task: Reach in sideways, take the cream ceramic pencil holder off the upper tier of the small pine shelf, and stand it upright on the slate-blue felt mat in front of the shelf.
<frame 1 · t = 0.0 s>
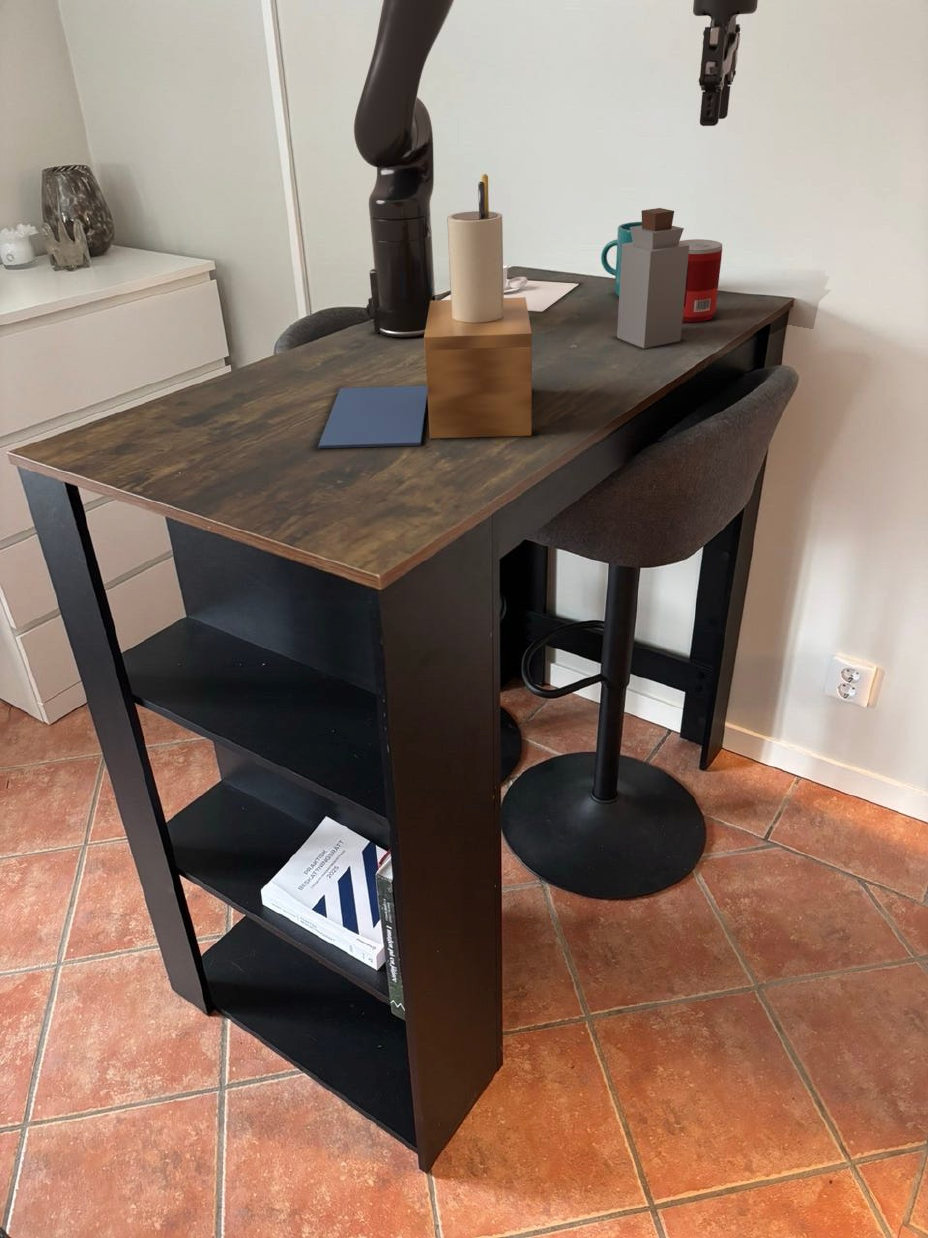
hand: (713, 121, 117), 29 cm above the table, tool pointing down, fingers open, 8 cm apart
teacup and saucer: (508, 294, 165), on the table
shelf: (480, 412, 115), on the table
canned food: (690, 317, 148), on the table
mat: (377, 416, 115), on the table
holder: (477, 315, 108), point 12 cm above the table, touching shelf
cup: (632, 295, 161), on the table
perfume bottle: (648, 340, 138), on the table
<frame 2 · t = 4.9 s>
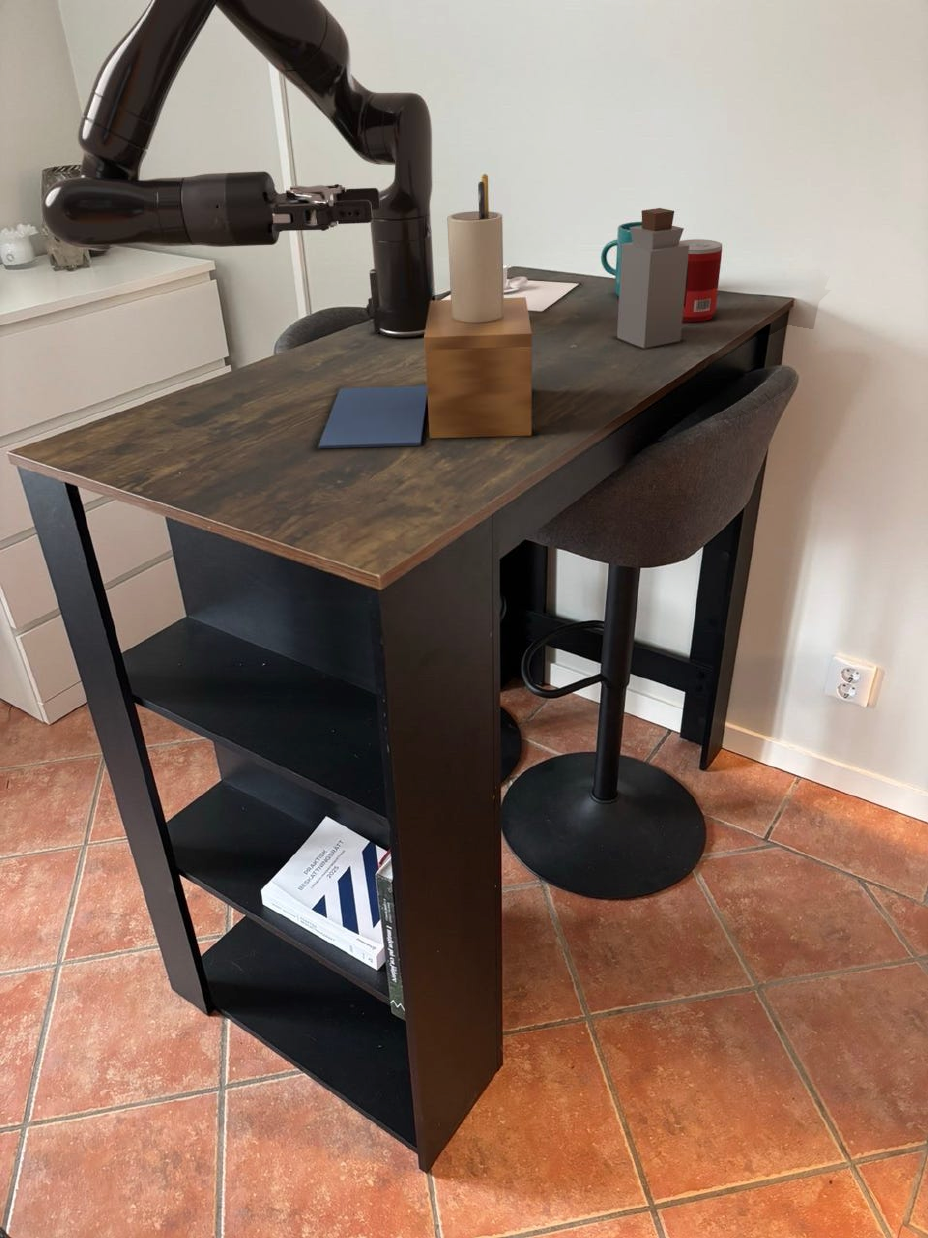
hand: (375, 204, 102), 25 cm above the table, tool horizontal, fingers open, 8 cm apart
nothing on the table moved.
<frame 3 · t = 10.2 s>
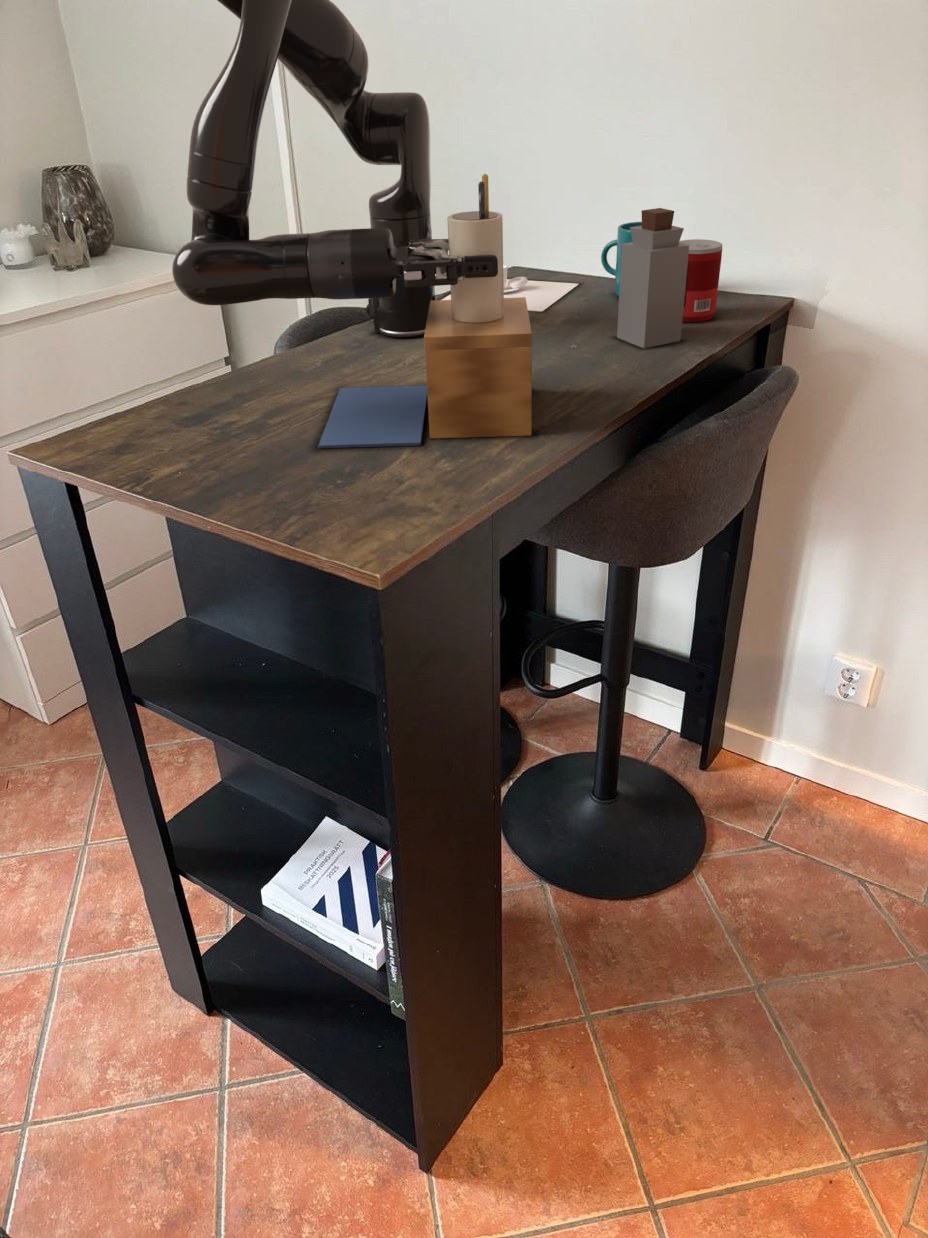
hand: (496, 258, 105), 18 cm above the table, tool horizontal, fingers closed on holder, 6 cm apart
holder: (477, 315, 108), point 12 cm above the table, touching gripper, shelf
everything else where it was.
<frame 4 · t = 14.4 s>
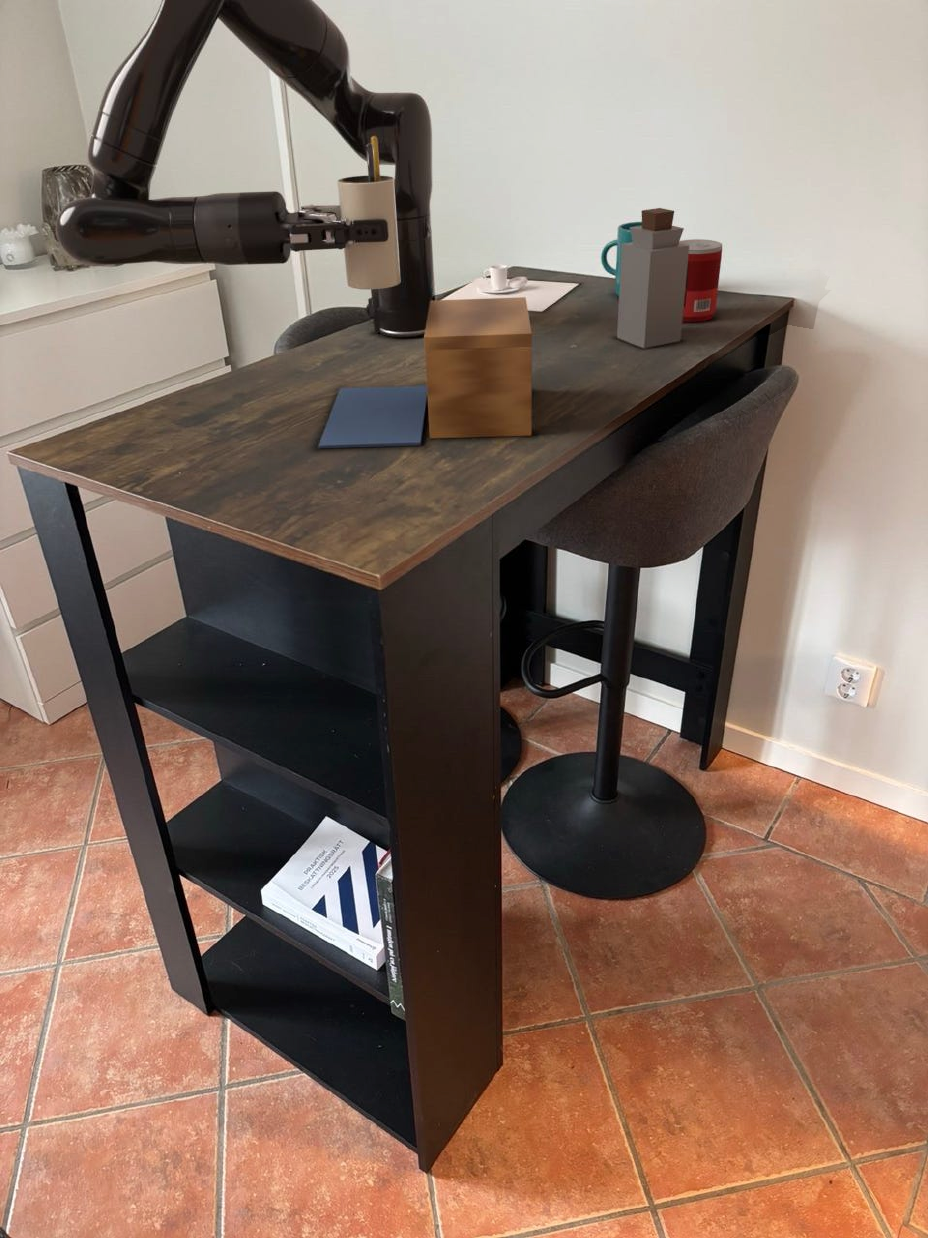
hand: (390, 224, 103), 22 cm above the table, tool horizontal, fingers closed on holder, 6 cm apart
holder: (374, 283, 106), point 16 cm above the table, touching gripper
everything else where it was.
when the fingers open (7 cm above the table, at t = 19.1 s): holder stays where it is, resting on mat.
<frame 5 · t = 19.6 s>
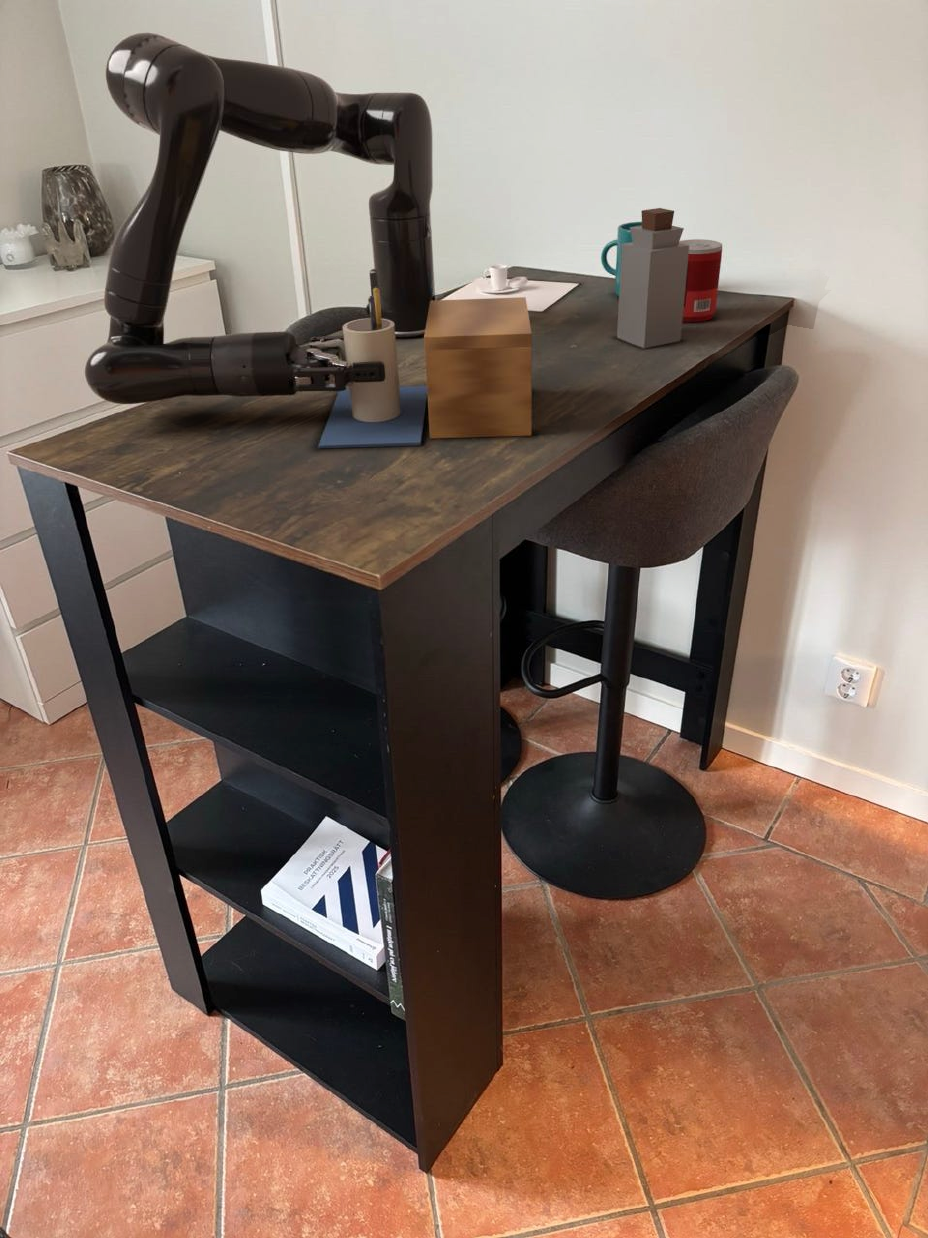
hand: (388, 360, 111), 7 cm above the table, tool horizontal, fingers open, 8 cm apart
holder: (376, 413, 115), resting on mat
everything else where it was.
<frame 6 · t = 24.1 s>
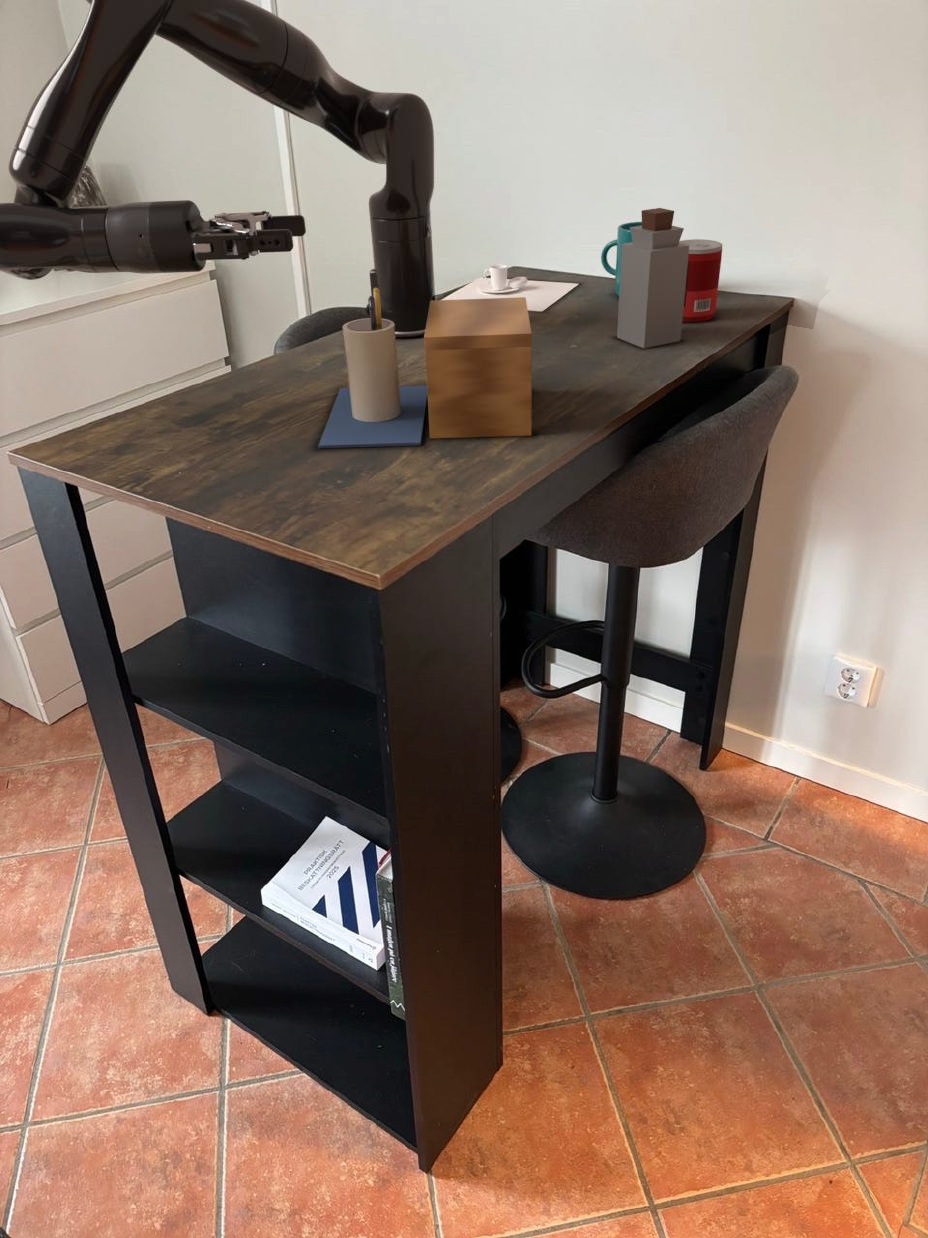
hand: (298, 232, 103), 22 cm above the table, tool horizontal, fingers open, 8 cm apart
nothing on the table moved.
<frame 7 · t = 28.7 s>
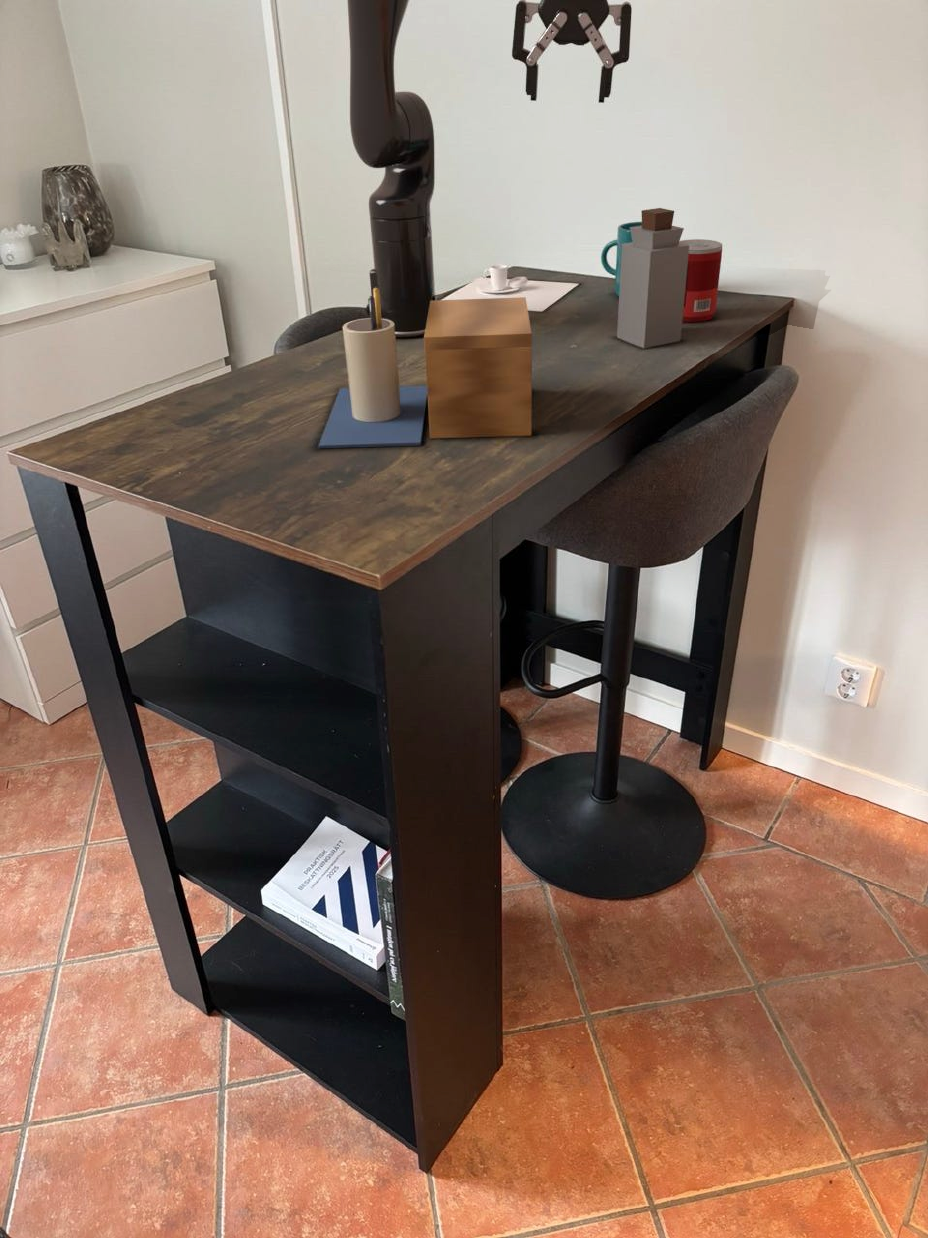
hand: (567, 100, 115), 32 cm above the table, tool pointing down, fingers open, 8 cm apart
nothing on the table moved.
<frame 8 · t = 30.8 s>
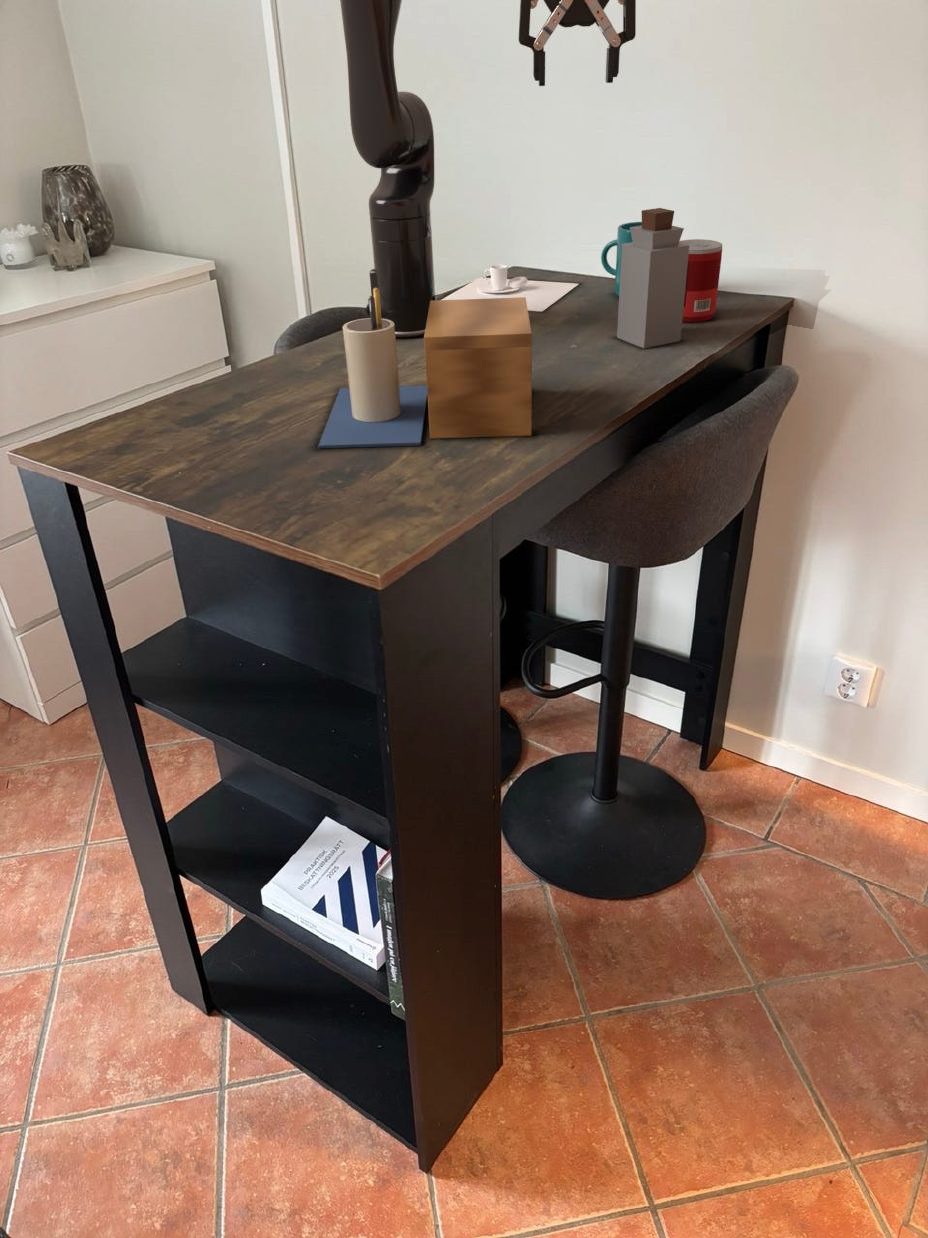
hand: (575, 83, 116), 34 cm above the table, tool pointing down, fingers open, 8 cm apart
nothing on the table moved.
at the end: holder inside the target area on the mat (0.1 cm from its centre), point 0.4 cm above the mat's base; holder tilted 0°; the gripper is holding nothing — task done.
